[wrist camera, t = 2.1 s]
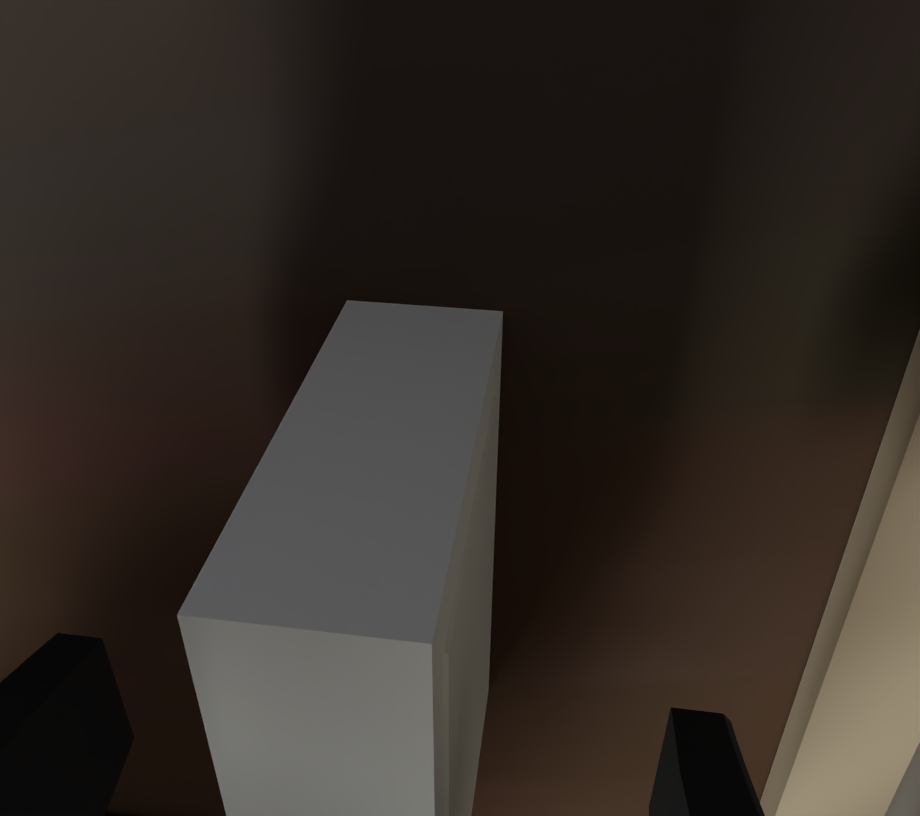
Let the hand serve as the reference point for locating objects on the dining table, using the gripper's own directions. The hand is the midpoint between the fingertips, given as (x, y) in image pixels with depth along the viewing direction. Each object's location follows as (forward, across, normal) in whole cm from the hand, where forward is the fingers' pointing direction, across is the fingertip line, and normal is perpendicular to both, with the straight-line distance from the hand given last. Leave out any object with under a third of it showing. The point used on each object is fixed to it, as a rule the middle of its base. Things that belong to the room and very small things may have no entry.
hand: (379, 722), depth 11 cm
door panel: (+4, 0, 0) cm, 4 cm away
